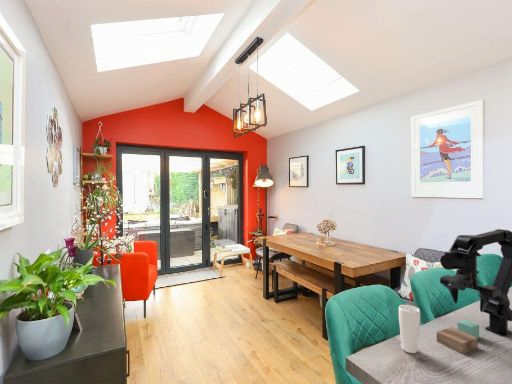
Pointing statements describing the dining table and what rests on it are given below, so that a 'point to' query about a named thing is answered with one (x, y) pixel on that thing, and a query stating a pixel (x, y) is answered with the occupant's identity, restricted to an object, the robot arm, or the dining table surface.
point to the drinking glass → (409, 327)
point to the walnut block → (457, 340)
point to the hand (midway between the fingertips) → (468, 307)
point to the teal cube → (469, 328)
